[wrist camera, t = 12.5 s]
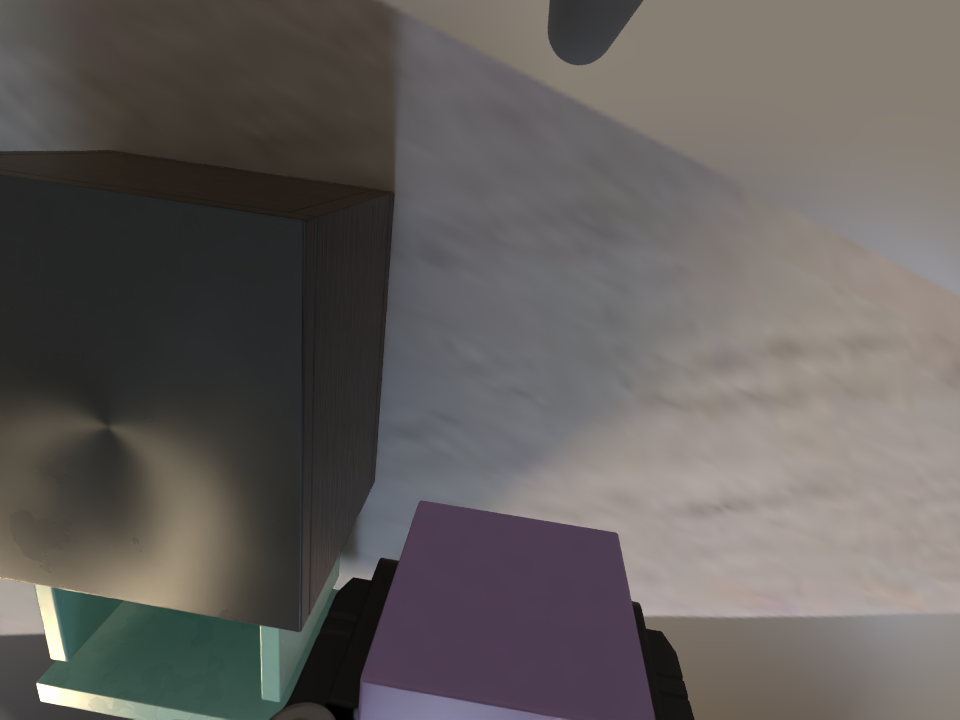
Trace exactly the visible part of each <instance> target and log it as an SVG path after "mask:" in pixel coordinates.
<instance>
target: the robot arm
mask: <svg viewBox="0 0 960 720" xmlns="http://www.w3.org/2000/svg"><path fill="white" fill-rule="evenodd" d="M398 563H399V561H398V560H392V559H386V558H380V560H379V562H378V564H377V567H376V570H375V572H374V575H373V577H372V580H365V579H359V578H354V577H353V578H352V579H351V580H350V581H349V582H348V583H347V584H346V585H345V586H343V587H342V588H341V589H340V590H339V591H338V592H337V593H336V595H335V598H334V600H333V602H332V604H331V607H330V609H329V611H328V614H327V617H326V618H325V620H324V622H323V625H322V627H321V629H320V633H319V634H318V636H317V638H316V640H315V642H314V645H313V647H312V649H311V651H310V654H309V656H308V658H307V660H306V663H305V665H304V667H303V669H302V672H301V674H300V676H299V678H298V681H297V683H296V685H295V687H294V690H293V692H292V694H291V696H290V698H289V700H288V702H287V703H286V705H285V706H284V707H283V709H282V710H280V711H279V712H277V713H276V714H275V715H273V716H272V717H271V718H270V719H269V720H358V711H359V694H360V678H361V675H362V672H363V669H364V666H365V663H366V660H367V657H368V654H369V651H370V648H371V645H372V642H373V639H374V636H375V633H376V630H377V627H378V624H379V621H380V618H381V615H382V612H383V608H384V605H385V602H386V599H387V596H388V593H389V590H390V587H391V584H392V581H393V578H394V575H395V572H396V569H397V566H398ZM632 606H633V611H634V616H635V621H636V626H637V631H638V636H639V641H640V646H641V651H642V656H643V661H644V665H645V670H646V675H647V680H648V685H649V690H650V695H651V700H652V705H653V710H654V715H655V720H694V716H693V713H692V709H691V705H690V702H689V701H688V694H687V691H686V687H685V683H684V681H683V680H682V678H683V676H682V672H681V668H680V665H679V661H678V657H677V654H676V652H675V650H674V649H673V648H672V646H671V645H670V643H669V642H668V640H667V639H666V637H665V636H664V634H663V633H662V632H661V631H655V630H650V629H646V627H645V622H644V618H643V613H642V609H641V606H640V604H639V603H638V602H633V601H632Z"/></svg>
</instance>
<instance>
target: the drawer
mask: <svg viewBox="0 0 960 720" xmlns="http://www.w3.org/2000/svg"><path fill="white" fill-rule="evenodd" d="M339 561H340V554H339V556H338V558H337V560H336V562H335V564H334V566H333V568H332V570H331V572H330V574H329V576H328V578H327V581H326V583H325V585H324V587H323V589H322V591H321V593H320V595H319V597H318V599H317V601H316V603H315V605H314V607H313V609H312V611H311V613H310V615H309V617H308V619H307V621H306V623H305V625H304V627H303V629H302V631H301V632H293V631H288V630H282V629H277V628H271V627H266V626H260V625H255V624H249V623H244V622H238V621H233V620H228V619H222V618H217V617H211V616H206V615H200V614H195V613H189V612H184V611H178V610H173V609H167V608H162V607H156V606H151V605H146V604H140V603H135V602H129V601H124V600H118V599H113V598H107V597H102V596H96V595H91V594H85V593H80V592H74V591H69V590H64V589H58V588H53V587H47V586H42V585H36V584H34V586H35V590H36V595H37V599H38V604H39V608H40V612H41V617H42V621H43V626H44V630H45V635H46V639H47V644H48V648H49V653H50V657H51V658H52V659H55V660H57V661H56V662H55V663H54V664H53V665H52V666H51V667H50V668H49V669H48V670H47V672H46V673H45V674H44V675H43V676H42V677H41V678H40V679H39V680H38V681H37V683H36V684H37V688H38V692H39V696H40V700H41V701H43V702H48V703H53V704H58V705H63V706H68V707H74V708H78V709H84V710H89V711H94V712H99V713H105V714H110V715H115V716H120V717H125V718H130V719H135V720H269V719H270V718H271V717H272V716H273V715H275V714H276V713H277V712H279V711H280V710H282V709H283V707H284V706H285V705H286V703H287V702H288V700H289V698H290V696H291V694H292V692H293V690H294V687H295V685H296V683H297V681H298V678H299V676H300V674H301V672H302V669H303V667H304V665H305V663H306V660H307V658H308V656H309V654H310V651H311V649H312V647H313V645H314V642H315V640H316V638H317V636H318V634H319V633H320V629H321V627H322V625H323V622H324V620H325V618H326V617H327V614H328V611H329V609H330V607H331V604H332V602H333V600H334V598H335V595H336V593H337V592H338V591H339V590H335V589H333V587H334V585H335V583H336V581H337V578H338V576H339Z"/></svg>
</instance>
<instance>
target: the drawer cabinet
mask: <svg viewBox="0 0 960 720" xmlns="http://www.w3.org/2000/svg"><path fill="white" fill-rule="evenodd" d="M393 207H394V192H392V191H385V190H378V189H371V188H365V187H358V186H351V185H344V184H337V183H330V182H323V181H316V180H310V179H303V178H296V177H289V176H282V175H275V174H268V173H261V172H255V171H248V170H241V169H234V168H227V167H220V166H213V165H206V164H200V163H193V162H186V161H179V160H172V159H165V158H158V157H152V156H145V155H138V154H131V153H124V152H117V151H110V150H98V151H95V150H93V151H0V578H3V579H9V580H14V581H20V582H25V583H31V584H36V585H42V586H47V587H53V588H58V589H64V590H69V591H74V592H80V593H85V594H91V595H96V596H102V597H107V598H113V599H118V600H124V601H129V602H135V603H140V604H146V605H151V606H156V607H162V608H167V609H173V610H178V611H184V612H189V613H195V614H200V615H206V616H211V617H217V618H222V619H228V620H233V621H238V622H244V623H249V624H255V625H260V626H266V627H271V628H277V629H282V630H288V631H293V632H301V631H302V629H303V627H304V625H305V623H306V621H307V619H308V617H309V615H310V613H311V611H312V609H313V607H314V605H315V603H316V601H317V599H318V597H319V595H320V593H321V591H322V589H323V587H324V585H325V583H326V581H327V578H328V576H329V574H330V572H331V570H332V568H333V566H334V564H335V562H336V560H337V558H338V556H339V554H340V552H341V550H342V548H343V546H344V544H345V542H346V540H347V537H348V535H349V533H350V531H351V529H352V527H353V525H354V523H355V521H356V519H357V517H358V515H359V513H360V511H361V509H362V507H363V505H364V503H365V501H366V499H367V496H368V494H369V492H370V490H371V488H372V486H373V484H374V482H375V468H376V453H377V439H378V424H379V410H380V395H381V381H382V366H383V352H384V337H385V323H386V308H387V294H388V279H389V265H390V250H391V236H392V221H393Z"/></svg>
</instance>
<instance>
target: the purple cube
mask: <svg viewBox="0 0 960 720" xmlns="http://www.w3.org/2000/svg"><path fill="white" fill-rule="evenodd" d="M358 720H655V715H654V710H653V705H652V700H651V695H650V690H649V685H648V680H647V675H646V670H645V665H644V661H643V656H642V651H641V646H640V641H639V636H638V631H637V626H636V621H635V616H634V611H633V606H632V601H631V596H630V591H629V587H628V582H627V577H626V572H625V567H624V562H623V557H622V552H621V547H620V542H619V537H618V534H617V533H615V532H609V531H603V530H597V529H591V528H585V527H579V526H573V525H566V524H560V523H554V522H548V521H542V520H536V519H530V518H524V517H518V516H512V515H506V514H500V513H494V512H488V511H482V510H476V509H470V508H464V507H458V506H452V505H446V504H439V503H433V502H427V501H420V502H419V503H418V506H417V509H416V512H415V515H414V518H413V521H412V524H411V527H410V530H409V533H408V536H407V539H406V542H405V545H404V548H403V551H402V554H401V557H400V560H399V563H398V566H397V569H396V572H395V575H394V578H393V581H392V584H391V587H390V590H389V593H388V596H387V599H386V602H385V605H384V608H383V612H382V615H381V618H380V621H379V624H378V627H377V630H376V633H375V636H374V639H373V642H372V645H371V648H370V651H369V654H368V657H367V660H366V663H365V666H364V669H363V672H362V675H361V678H360V694H359V711H358Z"/></svg>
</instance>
